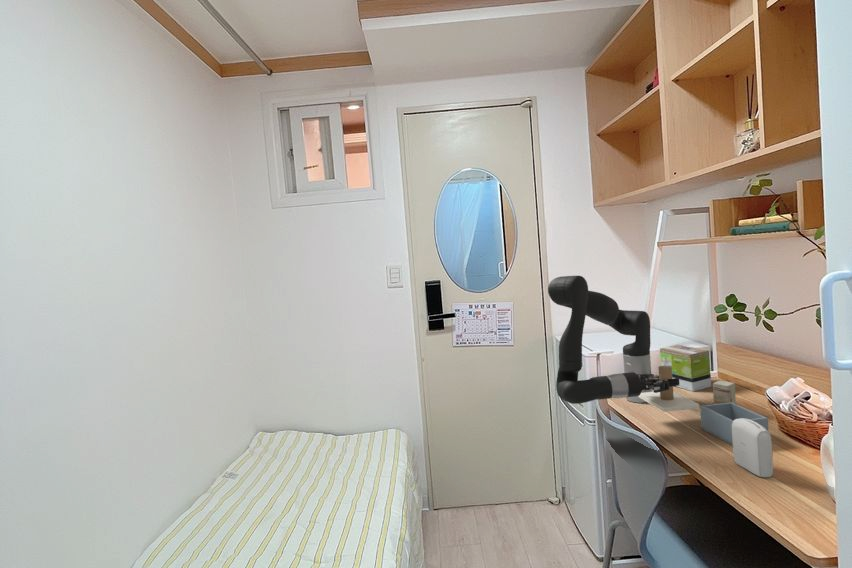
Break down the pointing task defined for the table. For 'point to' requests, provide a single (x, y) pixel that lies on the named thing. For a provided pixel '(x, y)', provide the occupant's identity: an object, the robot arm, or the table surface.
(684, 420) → the table surface
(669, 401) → the lid
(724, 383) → the skincare box
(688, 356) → the tea box
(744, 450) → the photo printer
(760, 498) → the table surface
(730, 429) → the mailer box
